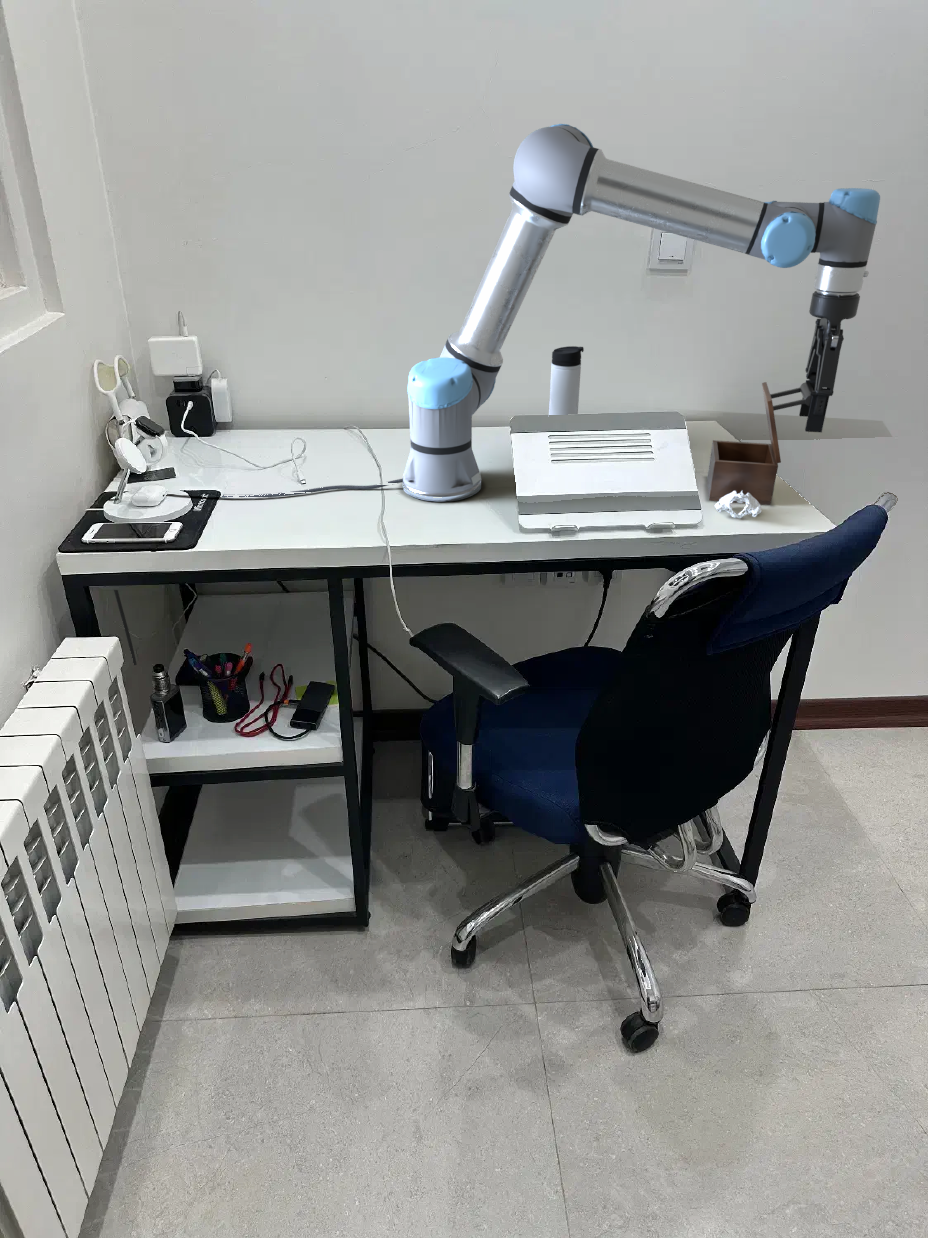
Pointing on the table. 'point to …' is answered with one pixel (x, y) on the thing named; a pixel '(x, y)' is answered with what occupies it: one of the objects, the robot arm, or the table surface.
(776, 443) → the lid
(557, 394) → the travel mug
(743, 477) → the desk box
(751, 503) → the hip bone replica
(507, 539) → the table surface
